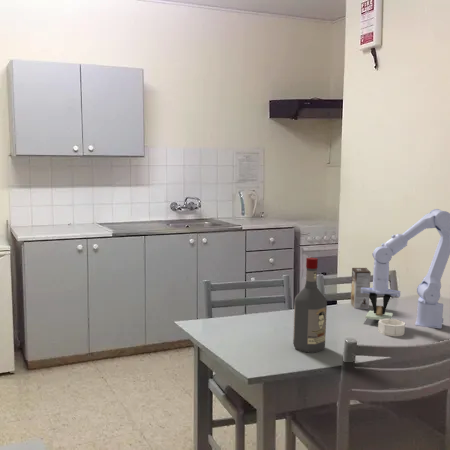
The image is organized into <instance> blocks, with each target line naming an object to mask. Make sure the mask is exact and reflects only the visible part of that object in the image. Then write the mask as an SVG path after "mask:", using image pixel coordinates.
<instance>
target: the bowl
mask: <svg viewBox="0 0 450 450" xmlns="http://www.w3.org/2000/svg"><path fill="white" fill-rule="evenodd" d="M377 331H378V333H379V334H381V335H384V336H389V337H401V336H404V335H405V332H406V322H405V321H402V320H401V319H395V318H391V319H380V320H379V322H378V326H377Z"/></svg>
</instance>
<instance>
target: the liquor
mask: <svg viewBox="0 0 450 450" xmlns="http://www.w3.org/2000/svg"><path fill="white" fill-rule="evenodd" d="M318 260H319V258H317V257H306V259H305V261H306V263H305V268H306V274H305V275H306V276H305V285H304V287H303V288H302V289H301V290H300V291H299V292H298V293H297V294H296V295H295V298H294V303H293V304H294V307H293V309H294V311H293V336H292V337H293V340H292V344H293V347H294V349H295V350H298V351H302V352H305V353H317V352H321V351H323V350H324V349H325V348H326V333H327V332H326V331H327V311H328V310H327V307H328V302H327V299H326V297H325V295H324V294H323V293H322V292H321V290H319V288H318V282H317V281H318V280H317V279H318V277H317V276H318V266H319V264H318Z"/></svg>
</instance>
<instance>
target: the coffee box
mask: <svg viewBox="0 0 450 450" xmlns="http://www.w3.org/2000/svg"><path fill="white" fill-rule="evenodd" d="M371 277H372V275H371V271H370V270H369V269H368V267H352V268H351V287H350V289H351V290H350V304H351V306H352V307H353V308H354V309H362V310H363V309H364V310H365V309H370V298H369V294H368V293H361V288H362V287H364V288H371Z"/></svg>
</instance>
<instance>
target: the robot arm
mask: <svg viewBox="0 0 450 450" xmlns="http://www.w3.org/2000/svg"><path fill="white" fill-rule="evenodd" d="M426 229H427V230H428V229H436V230H437V233H438V234H439V235H440V237H439V240H438V243H437V246H436V248H435V251H434V253H433V254H434V255H433V257H432V259H431V263H430V266H429V267H428V271H427V273H426V275H425V276H424V277H423V279H422V281H421V283H419V284H418V286H417V287H416V293H417V295H418V299H417V310H416V320H415V323H414V326H416V327H417V326H418V327H424V328H425V327H426V328H432V329H442V328H443V323H444V318H443V317H444V316H443V315H444V314H443V313H444V303H441V302H439V300H440V299H441V288H442V283H441V279H442V277H443V274H444V271H445V269H446V265H447V263H448V261H449V258H450V212H448V211H447V210H441V209H439V208H434V209H432V210H430V212H429V213H425V214H424V215H423V216H422V217H421V218H420V219H418V220H417V221H416V222H415V223H414V224H413V225H411V226H410V227H409V228H408V229H406V230H405V231H404V232H403V233H396V234H394V233H393V234H392V235H391V236H390V237H391V238H390V239H388V240H387V241H385V242H382V243H381V244H380V245H381V246H376V247H375V249H374V250H373V251H372V257H373V259H374V260H373V273H372V275H373V277H372V287H370V288H364V287H362V288H361V293H368V294H369V301H370V302H371V305H372V309H373V310H372V311H374V313H376V306H378V304H377V302H378V301H377V300H378V296H379V295H380V296H382V299H383V300H382V301H383V305H382V306H383V314H385V312H387V311H386V310H387V307H388V304H389V302H390V300H391V297H397V298H400V297H401V291H400V290H395V289H391V288H390V289H389V284H390V283H389V279H390V261H392V257H393V256H395V255H396V254H398V253H399V252H401V251H402V250H403V249H405V248H406V247H407V246H408V242H409V241H410V240H412V239H413V238H415V237H416V236H418V235H419V234H420V233H422V232H423V231H424V230H426Z"/></svg>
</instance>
